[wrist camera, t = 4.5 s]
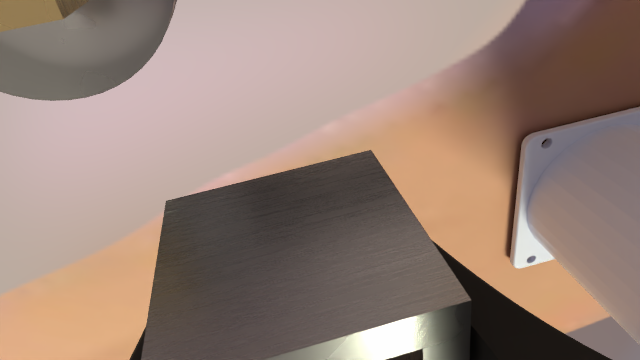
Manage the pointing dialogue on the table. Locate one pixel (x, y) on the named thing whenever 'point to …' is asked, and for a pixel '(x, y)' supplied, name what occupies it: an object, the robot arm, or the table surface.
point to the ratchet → (76, 44)
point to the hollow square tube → (303, 273)
